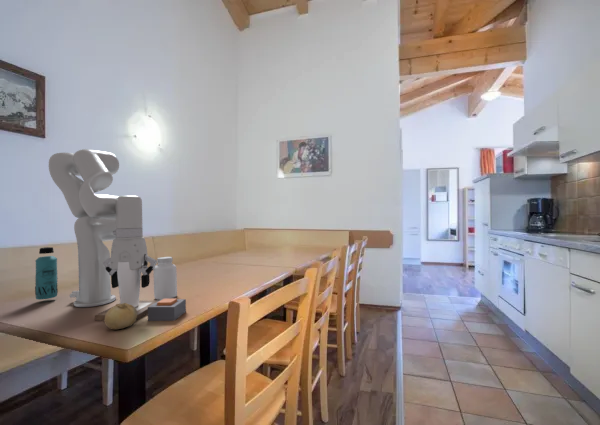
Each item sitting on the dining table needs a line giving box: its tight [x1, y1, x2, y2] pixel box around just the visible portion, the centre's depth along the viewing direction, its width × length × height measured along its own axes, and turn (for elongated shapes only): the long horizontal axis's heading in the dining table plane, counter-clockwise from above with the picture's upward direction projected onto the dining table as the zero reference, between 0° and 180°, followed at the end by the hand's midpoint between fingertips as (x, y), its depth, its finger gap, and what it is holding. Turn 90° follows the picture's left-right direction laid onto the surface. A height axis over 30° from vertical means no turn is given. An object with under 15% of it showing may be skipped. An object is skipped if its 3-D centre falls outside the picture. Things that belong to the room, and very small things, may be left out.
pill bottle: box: [152, 256, 178, 300], centre depth 115 cm, size 8×8×15 cm
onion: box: [103, 303, 137, 330], centre depth 85 cm, size 8×8×7 cm
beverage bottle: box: [34, 246, 59, 300], centre depth 113 cm, size 6×7×20 cm
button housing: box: [147, 298, 187, 322], centre depth 93 cm, size 8×8×4 cm
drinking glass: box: [117, 262, 142, 307], centre depth 98 cm, size 7×7×15 cm
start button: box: [157, 297, 178, 306], centre depth 93 cm, size 4×4×3 cm
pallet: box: [94, 299, 159, 321], centre depth 98 cm, size 13×15×2 cm
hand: (130, 286), depth 98 cm, fingers open, 9 cm apart
